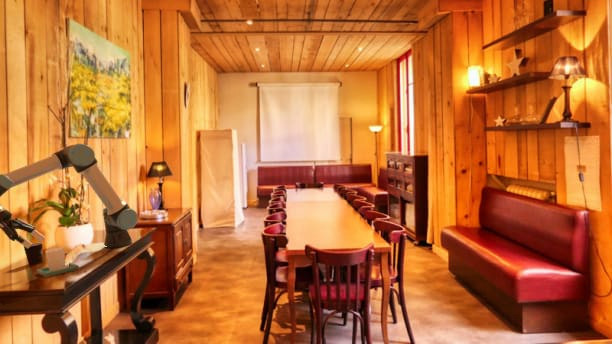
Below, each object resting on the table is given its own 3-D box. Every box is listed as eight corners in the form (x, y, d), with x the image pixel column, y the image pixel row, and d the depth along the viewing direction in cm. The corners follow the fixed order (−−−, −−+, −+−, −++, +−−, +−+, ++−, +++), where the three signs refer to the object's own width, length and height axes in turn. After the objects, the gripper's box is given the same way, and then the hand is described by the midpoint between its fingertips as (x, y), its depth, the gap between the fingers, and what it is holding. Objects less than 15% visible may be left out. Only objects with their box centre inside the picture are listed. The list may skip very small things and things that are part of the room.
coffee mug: (36, 265, 240) (33, 246, 239) (22, 265, 241) (19, 247, 241) (52, 259, 251) (50, 240, 250) (39, 259, 253) (36, 241, 252)
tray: (68, 265, 230) (68, 262, 230) (79, 269, 220) (78, 265, 220) (37, 273, 220) (37, 269, 220) (46, 277, 210) (46, 273, 210)
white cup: (61, 272, 216) (58, 251, 215) (44, 273, 216) (41, 252, 215) (70, 267, 224) (67, 247, 223) (54, 268, 224) (51, 248, 223)
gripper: (8, 217, 228) (44, 243, 230) (-23, 226, 203) (18, 255, 206) (17, 205, 228) (53, 231, 231) (-12, 213, 203) (29, 242, 206)
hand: (37, 242), depth 218 cm, fingers open, 13 cm apart
